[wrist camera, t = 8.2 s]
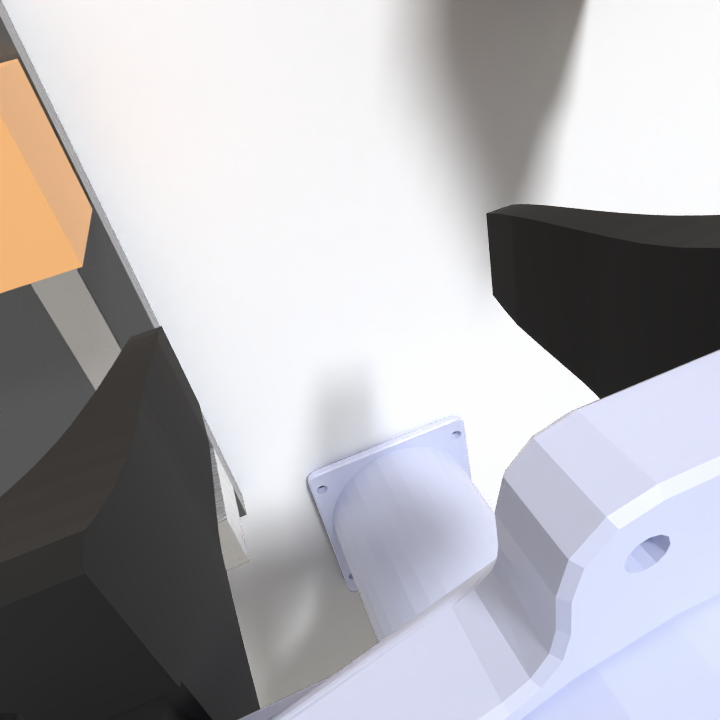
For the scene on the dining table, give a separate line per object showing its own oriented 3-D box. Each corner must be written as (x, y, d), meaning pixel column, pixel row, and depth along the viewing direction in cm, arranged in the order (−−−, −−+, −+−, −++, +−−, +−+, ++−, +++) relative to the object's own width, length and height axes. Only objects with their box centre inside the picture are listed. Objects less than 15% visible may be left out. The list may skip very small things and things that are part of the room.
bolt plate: (242, 495, 26) (267, 606, 22) (44, 575, 25) (24, 711, 20) (-28, -58, 14) (-107, -88, 10) (-439, 36, 13) (-776, 58, 8)
